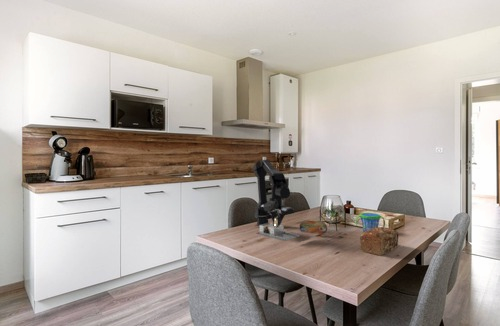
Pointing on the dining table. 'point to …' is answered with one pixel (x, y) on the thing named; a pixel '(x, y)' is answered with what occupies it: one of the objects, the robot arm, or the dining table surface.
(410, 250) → the dining table surface
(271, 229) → the jaw
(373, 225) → the snack cup
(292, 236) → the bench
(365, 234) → the bread
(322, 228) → the tin
